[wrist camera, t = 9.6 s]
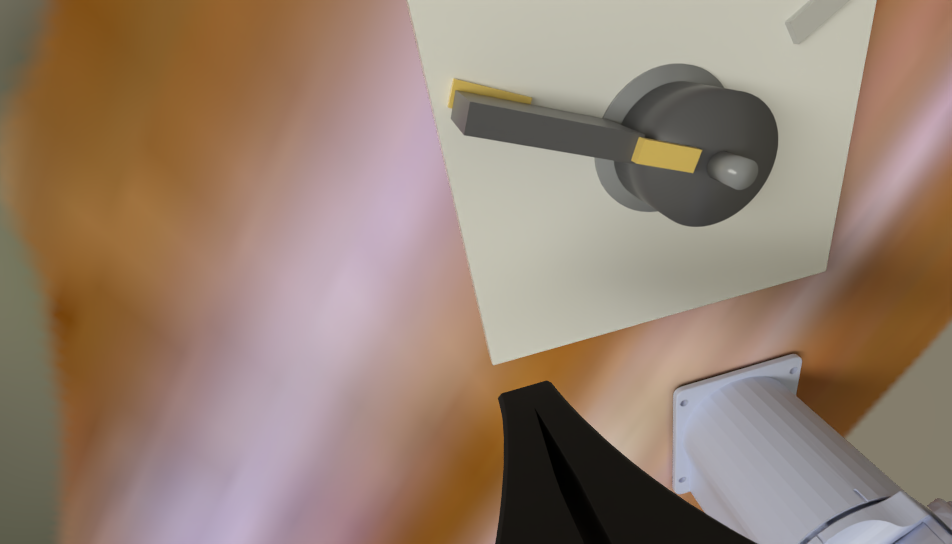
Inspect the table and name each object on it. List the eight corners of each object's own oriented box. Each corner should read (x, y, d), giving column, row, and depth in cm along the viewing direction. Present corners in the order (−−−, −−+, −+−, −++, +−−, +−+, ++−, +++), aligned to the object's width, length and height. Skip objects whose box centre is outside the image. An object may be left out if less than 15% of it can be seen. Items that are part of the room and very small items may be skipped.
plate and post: (810, 262, 26) (922, 323, 20) (488, 353, 24) (519, 442, 19) (884, -175, 17) (1110, -264, 12) (389, -69, 16) (396, -116, 10)
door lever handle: (583, -74, 15) (633, -97, 12) (744, 136, 20) (809, 155, 17) (439, 109, 17) (453, 126, 14) (617, 264, 22) (656, 302, 19)
